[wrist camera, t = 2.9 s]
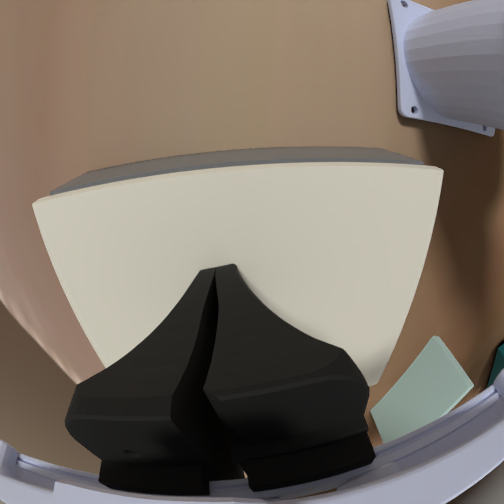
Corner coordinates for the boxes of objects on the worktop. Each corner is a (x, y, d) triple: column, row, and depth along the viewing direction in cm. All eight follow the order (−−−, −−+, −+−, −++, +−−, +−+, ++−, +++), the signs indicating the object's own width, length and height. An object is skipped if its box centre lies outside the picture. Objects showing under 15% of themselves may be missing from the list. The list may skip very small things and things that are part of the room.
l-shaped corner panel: (428, 398, 30) (449, 437, 23) (368, 406, 27) (389, 457, 21) (480, 335, 25) (511, 374, 18) (429, 332, 22) (469, 386, 16)
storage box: (380, 148, 14) (423, 161, 10) (354, 338, 20) (373, 376, 17) (87, 171, 13) (49, 192, 9) (145, 360, 19) (136, 402, 16)
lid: (435, 166, 10) (443, 170, 9) (374, 377, 17) (377, 383, 16) (39, 198, 9) (32, 204, 8) (136, 403, 16) (135, 410, 15)
